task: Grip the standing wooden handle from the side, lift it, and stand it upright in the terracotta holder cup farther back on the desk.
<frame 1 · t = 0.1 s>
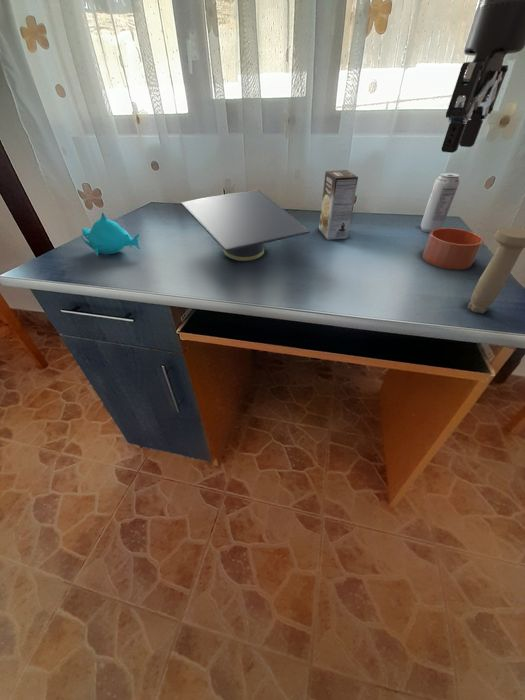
hand: (457, 149, 50), 25 cm above the table, tool pointing down, fingers open, 8 cm apart
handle: (475, 310, 58), on the table
graduation cap: (244, 254, 80), on the table
energy drink can: (429, 230, 91), on the table
toy shark: (117, 254, 80), on the table
coffee box: (332, 234, 90), on the table
holder: (446, 259, 75), on the table
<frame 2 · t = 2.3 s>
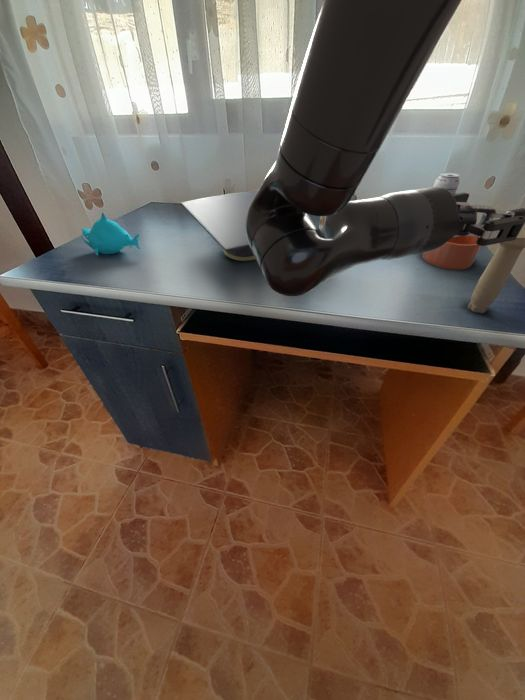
hand: (491, 208, 42), 20 cm above the table, tool horizontal, fingers open, 8 cm apart
nothing on the table moved.
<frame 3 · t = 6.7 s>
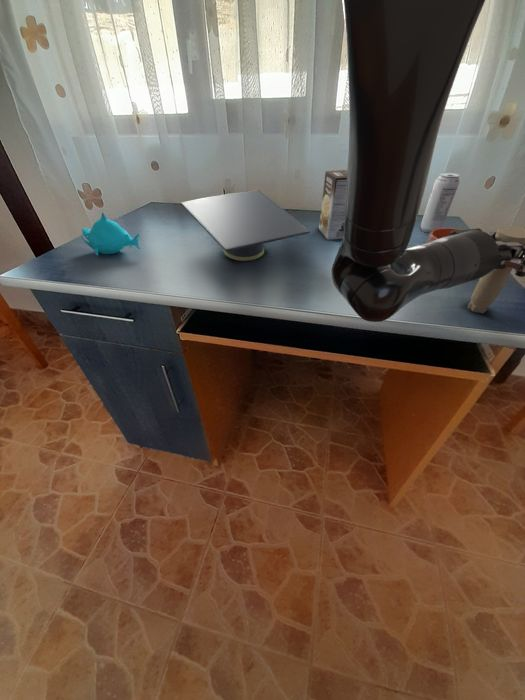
hand: (522, 241, 50), 13 cm above the table, tool horizontal, fingers closed on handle, 5 cm apart
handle: (475, 310, 58), on the table, touching gripper
everything else where it was.
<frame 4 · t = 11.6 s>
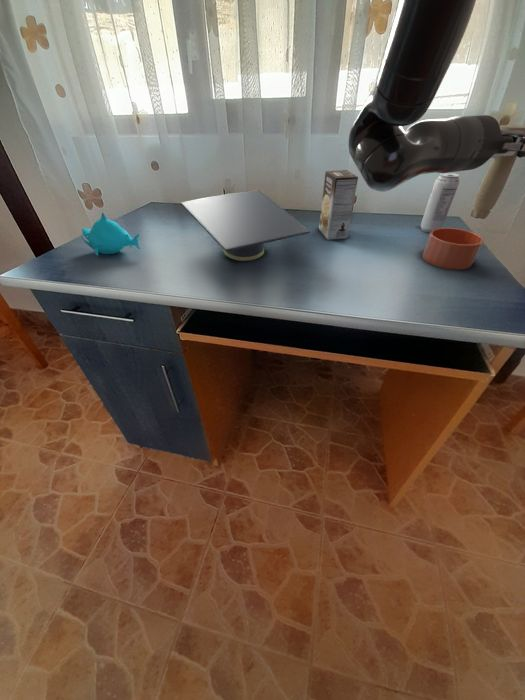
hand: (521, 139, 54), 26 cm above the table, tool horizontal, fingers closed on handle, 5 cm apart
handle: (477, 218, 61), point 13 cm above the table, touching gripper
everything else where it was.
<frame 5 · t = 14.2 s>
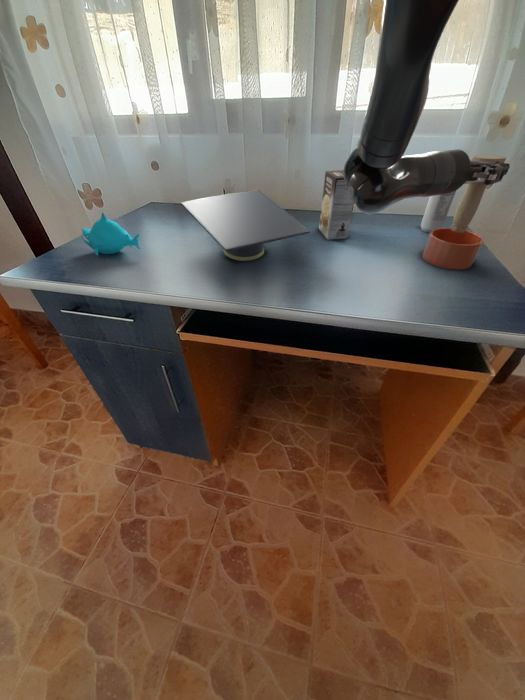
hand: (492, 167, 63), 20 cm above the table, tool horizontal, fingers closed on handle, 5 cm apart
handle: (457, 231, 71), point 7 cm above the table, touching gripper
everything else where it was.
when the fingers open (14 cm above the table, at t = 16.5 s): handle stays where it is, resting on holder.
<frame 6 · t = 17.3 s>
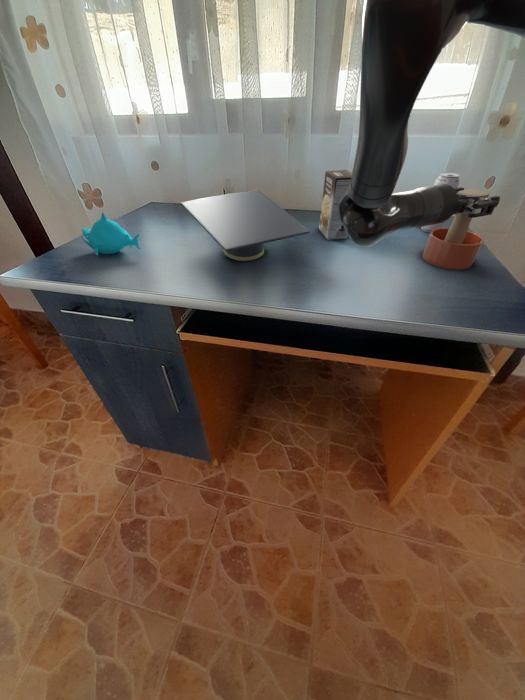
hand: (478, 196, 66), 14 cm above the table, tool horizontal, fingers open, 8 cm apart
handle: (446, 258, 75), resting on holder
everything else where it was.
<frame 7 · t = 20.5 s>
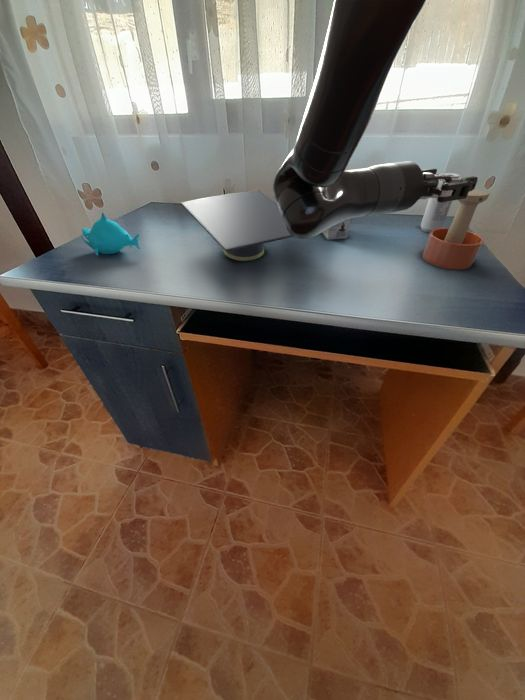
hand: (452, 178, 55), 20 cm above the table, tool horizontal, fingers open, 8 cm apart
nothing on the table moved.
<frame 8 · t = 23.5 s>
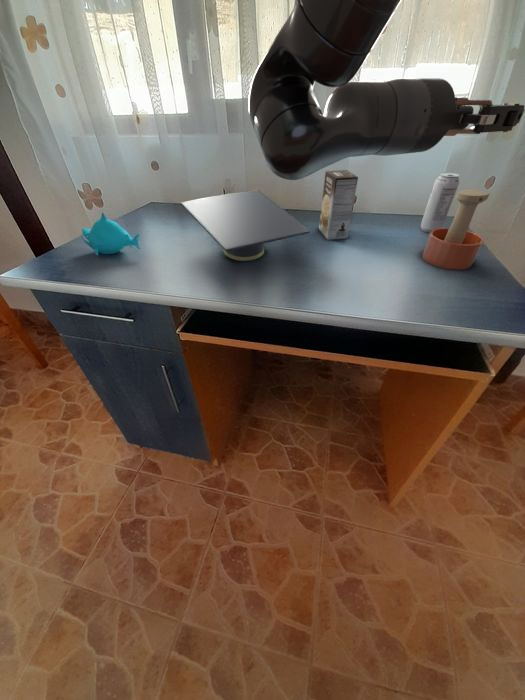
hand: (487, 114, 42), 30 cm above the table, tool horizontal, fingers open, 8 cm apart
nothing on the table moved.
at the end: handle 0.2 cm off-centre in the holder, point 0.3 cm above the holder's base; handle tilted 0°; the gripper is holding nothing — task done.
